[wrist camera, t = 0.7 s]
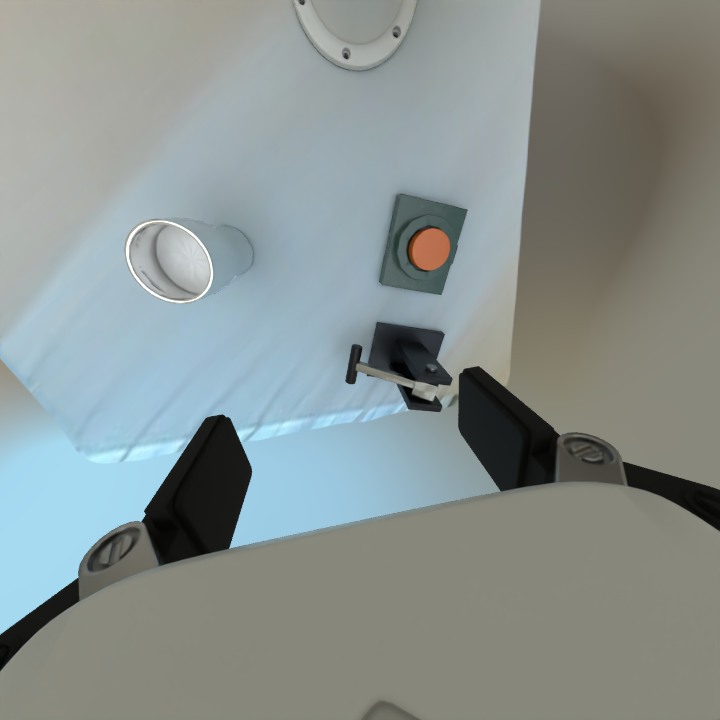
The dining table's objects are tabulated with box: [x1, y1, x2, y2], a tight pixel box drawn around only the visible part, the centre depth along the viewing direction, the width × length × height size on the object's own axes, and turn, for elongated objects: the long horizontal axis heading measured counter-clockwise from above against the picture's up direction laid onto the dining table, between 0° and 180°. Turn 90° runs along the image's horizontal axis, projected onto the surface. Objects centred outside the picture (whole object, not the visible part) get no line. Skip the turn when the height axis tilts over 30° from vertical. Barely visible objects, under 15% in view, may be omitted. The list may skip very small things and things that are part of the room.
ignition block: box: [379, 194, 467, 295], centre depth 36 cm, size 11×9×4 cm
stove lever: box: [345, 344, 438, 401], centre depth 36 cm, size 12×6×2 cm, turn 80°
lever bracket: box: [367, 322, 452, 412], centre depth 39 cm, size 11×9×13 cm
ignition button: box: [409, 228, 450, 270], centre depth 34 cm, size 5×5×2 cm
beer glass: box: [125, 218, 253, 304], centre depth 29 cm, size 7×7×15 cm
